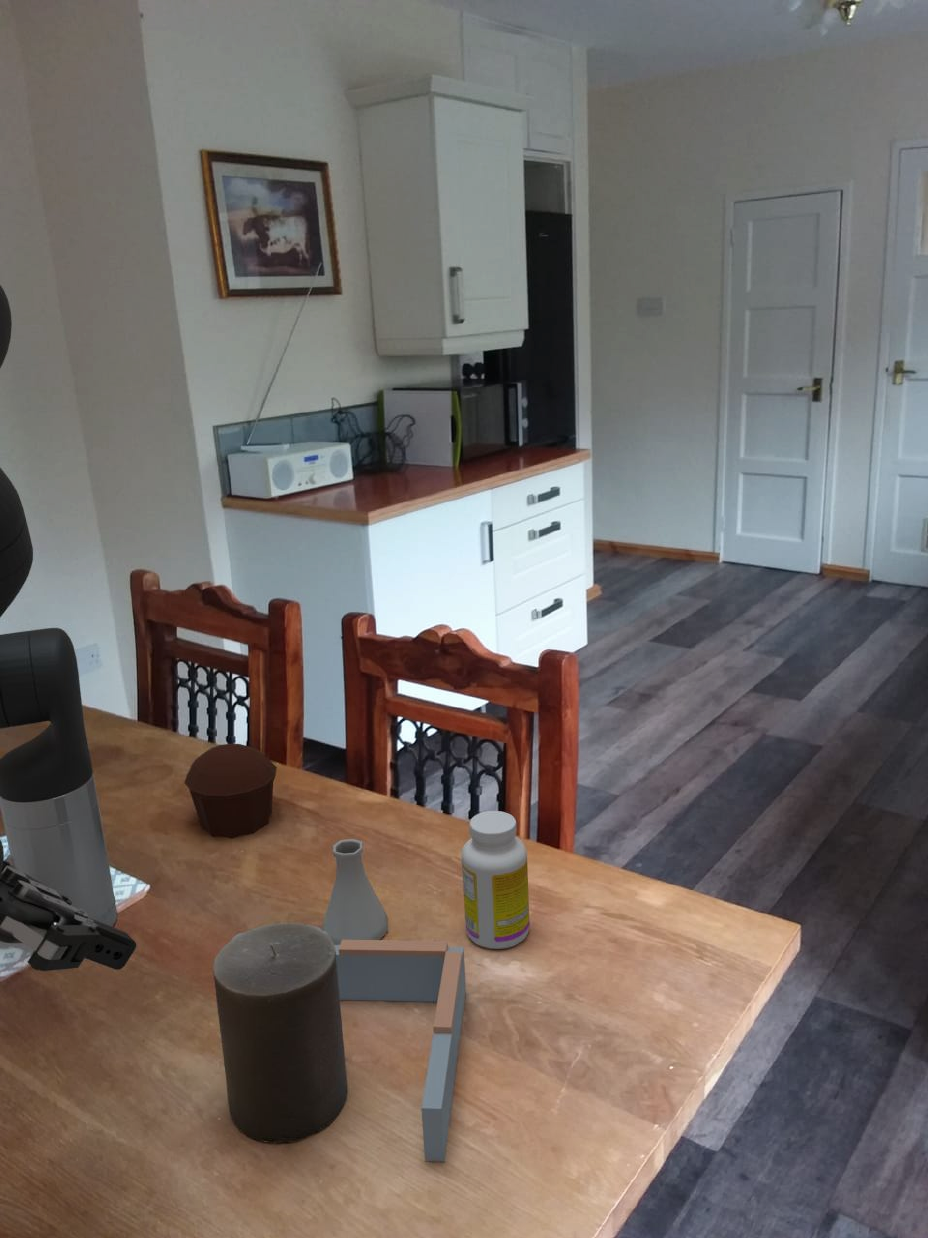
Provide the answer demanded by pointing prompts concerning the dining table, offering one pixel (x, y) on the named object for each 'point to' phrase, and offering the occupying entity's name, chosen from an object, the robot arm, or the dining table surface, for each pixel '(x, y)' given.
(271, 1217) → the dining table surface
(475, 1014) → the dining table surface
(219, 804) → the muffin
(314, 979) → the pillar candle
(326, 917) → the flask
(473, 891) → the supplement bottle
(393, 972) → the corner arena
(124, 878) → the dining table surface
